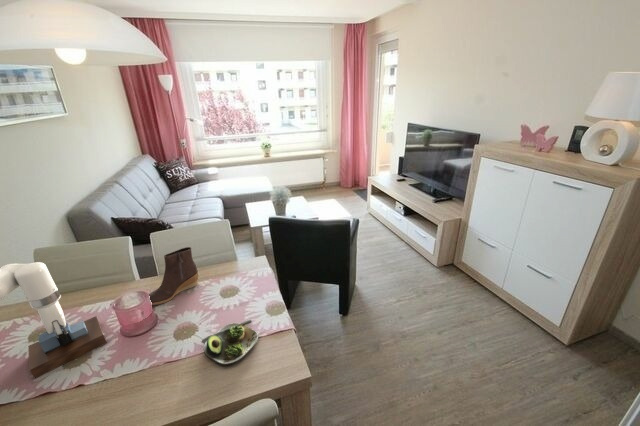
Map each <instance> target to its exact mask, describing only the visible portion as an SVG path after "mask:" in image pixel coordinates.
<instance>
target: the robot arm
mask: <svg viewBox="0 0 640 426" xmlns="http://www.w3.org/2000/svg"><path fill="white" fill-rule="evenodd" d="M19 287H20V290H21V291H22V293H23V295H24V296H25V298H26V300H27V302H28V304H29V306H30V308H31V309H32V310H36V311H37V313H38V315H39V318H40V320H41V322H42V324H43V326H44V328H45V330H46V332H48V333H49V334H51V333H52V332H53V330H54V332H55V334H56V336H57V339H58V341H59V343H60V345H61V346H64V345H66V344H68V343H70V342H72V338H71V336H70V334H69V332H67V331H66V329H65V327H66V323H67V321H66V318H65V314H64V310H63V307H62V306H61V304H60V301H59V300H60V299H61V298H62V295H61V293H60V291H59V288H58V287H57V285H56V283H55V281H54V279H53V277H52V275H51V273H50V271H49V269H48V267H47V265H46V264H45V263H44V262H41V261H36V262H29V263H7V264H4V265H2V266H1V267H0V301H2V300H3V299H5V298H6V297H7V296H8V295H10V294H11V293H12V292H13V291H15V290H16V289H17V288H19ZM61 325H62V326H61ZM60 326H61V327H60ZM61 329H63V330H64V331H62V330H61Z"/></svg>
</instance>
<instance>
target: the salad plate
mask: <svg viewBox="0 0 640 426" xmlns="http://www.w3.org/2000/svg"><path fill="white" fill-rule="evenodd" d="M251 323H252V319H247V320H245V321H243V322H231V323H228V324H225V325H224V326H223V327H221V328H220V329H219V330H218V331H216V333H214V334H210V335H208V336H206V337H204V338H203V339H201V341H200V343H203V348H202V349H203V353H204V355H205V356H207V358H208V359H210V360H211V361H213V362H214V363H215V364H217V365H220V366H222V367H228V366H232V365H235V364H237V363H238V362H240V361H242V360H243V359H244V358H245V357H246V355H247V354H248V353H249V352H250V351H251V350H252V349H253V347H254V346H255V345H256V344H257V342H258V341H259V332H257V331H256V330H255V329H253V328H251V327H249V325H250V324H251Z"/></svg>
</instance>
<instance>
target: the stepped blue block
mask: <svg viewBox="0 0 640 426" xmlns="http://www.w3.org/2000/svg"><path fill="white" fill-rule="evenodd" d="M61 326H62V325H61ZM61 326H60V327H61ZM65 329H66V331H67V332H69V334H70V336H71V338H72V341H74V340H76V339H79V338H81V337H83V336H85V335H87V334H88V332H87V328H86V326H85V324H84V320H80V321H79V322H76V323H74V324H71V325H70V324H69V323H68V322H66V327H65ZM61 330H62V331H64V330H63V329H61ZM38 341H39V344H40V346H41V347H42V349H43V351H44V353H45V354H46V353H49V352H51V351H53V350H55V349H57V348H59V347H61V345H60V343H59V341H58V339H57V336H56V334H55V332H54V330H53V332H52V333H51V334H49V333H48V332H47V331H45V332H42V333H41V334H38Z"/></svg>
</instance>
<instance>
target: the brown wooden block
mask: <svg viewBox="0 0 640 426" xmlns="http://www.w3.org/2000/svg"><path fill="white" fill-rule="evenodd" d="M83 322H84V324H85V326H86V328H87V332H88V334H87V335H85V336H83V337H81V338H79V339H76V340H74V341H72V342H70V343H68V344H66V345H64V346H61V347H59V348H57V349H55V350H53V351H51V352H49V353H46V354H45V353H44V351H43V349H42V347H41V346H40V344H39V340H38V341H36V342H34V343H32V344H29V345H28V363H29V364H28V365H29V366H28V367H29V371H30V373H31V375H32V376H33V378H34V379H37V378H40V377H41V376H43V375H45V374H47V373H49V372H52V371H53V370H55V369H58V368H59V367H62V366H63V365H65V364H67V363H69V362H71V361H74V360H76V359H78V358H80V357H81V356H83V355H86V354H87V353H89V352H91V351H94V350H96V349H97V348H99V347H101V346H103V345H105V344H107V343H108V341H107V339H106V336H105V335H104V332H103V329H102V327H101V322H100V321H99V318H98V317H97V315H95V316H93V317H91V318H88V319H86V320H83Z"/></svg>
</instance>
